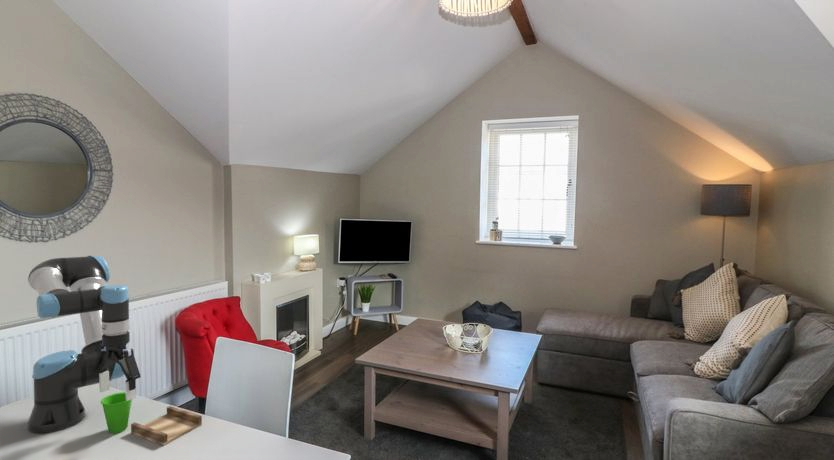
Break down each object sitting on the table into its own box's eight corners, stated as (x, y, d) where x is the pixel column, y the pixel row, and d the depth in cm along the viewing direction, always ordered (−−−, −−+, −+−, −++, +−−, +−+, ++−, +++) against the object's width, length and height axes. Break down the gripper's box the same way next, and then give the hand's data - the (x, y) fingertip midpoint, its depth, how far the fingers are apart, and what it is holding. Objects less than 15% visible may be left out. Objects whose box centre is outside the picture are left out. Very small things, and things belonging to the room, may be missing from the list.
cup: (117, 438, 141) (117, 406, 141) (94, 434, 143) (93, 402, 142) (140, 424, 150) (139, 393, 149) (118, 421, 152) (117, 390, 151)
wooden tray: (131, 433, 145) (130, 424, 144) (169, 414, 158) (169, 405, 157) (164, 445, 138) (163, 435, 138) (201, 425, 151) (201, 416, 151)
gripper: (80, 330, 146) (82, 391, 147) (128, 341, 136) (130, 407, 137) (104, 324, 152) (105, 383, 154) (152, 334, 142) (153, 397, 144)
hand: (117, 394), depth 146 cm, fingers open, 13 cm apart
